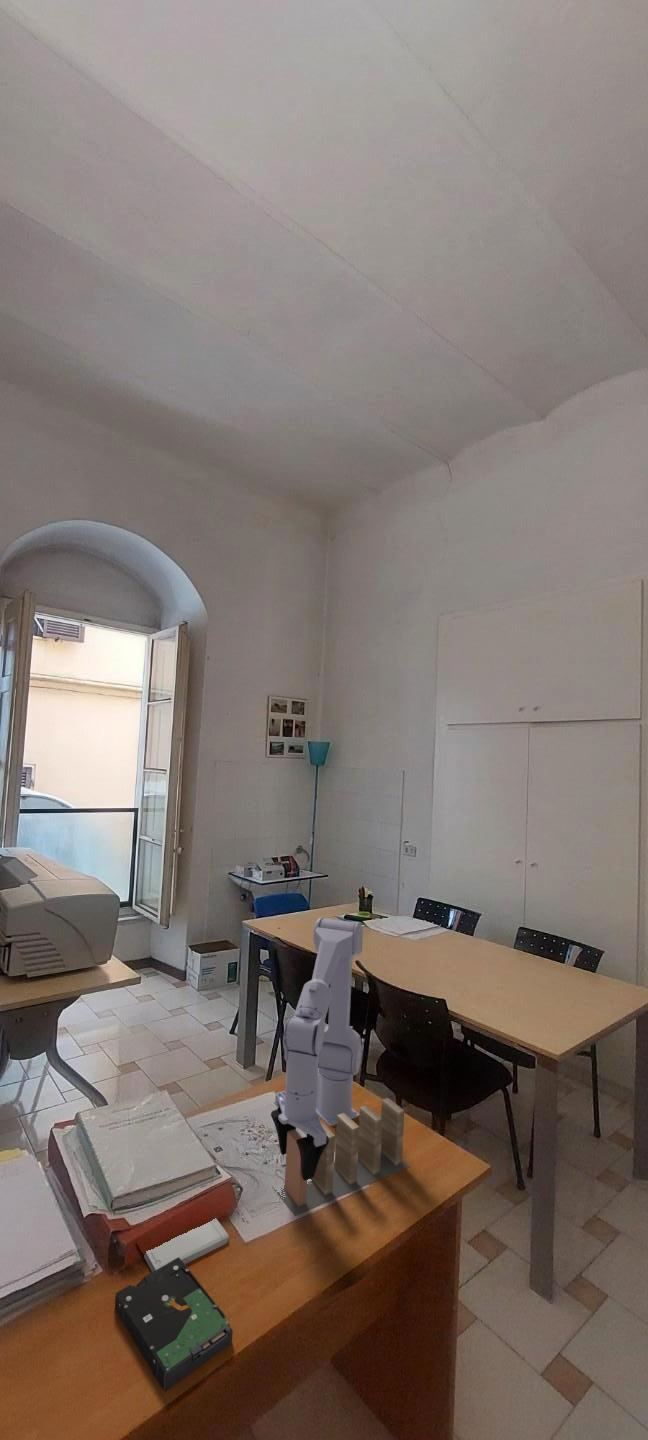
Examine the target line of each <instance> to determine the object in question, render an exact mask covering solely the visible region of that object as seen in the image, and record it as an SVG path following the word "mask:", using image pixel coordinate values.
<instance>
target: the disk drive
mask: <svg viewBox="0 0 648 1440" xmlns="http://www.w3.org/2000/svg"><path fill="white" fill-rule="evenodd" d="M114 1312H115V1313H116V1314H117V1317H118V1318H119V1320H120V1322H121V1323H122V1324H123V1326H124V1327H125V1329H126V1331H127V1332H128V1334H129V1336H130V1337H131V1339H132V1341H133V1342H134V1343H135V1346H136V1347H137V1349H138V1350H139V1352H140V1354H141V1355H142V1358H144V1360H145V1362H146V1364H147V1365H148V1367H149V1369H150V1371H151V1373H152V1375H153V1376H154V1378H155V1379H156V1380H157V1382H158V1384H159V1386H160V1387H161V1389H162V1391H163V1392H167V1391H168V1390H169V1389H171V1388H172V1387H173V1386H175V1385H176V1384H177V1383H180V1381H182V1380H183V1379H185V1378H186V1377H187V1376H188V1375H190V1374H191V1373H193V1372H194V1371H196V1370H197V1369H198V1368H199V1367H201V1366H202V1365H204V1364H205V1363H207V1362H208V1361H209V1360H211V1359H212V1358H213V1357H215V1356H216V1355H218V1354H219V1353H220V1352H222V1351H223V1350H225V1349H226V1348H228V1347H229V1346H231V1344H232V1343H233V1335H234V1334H233V1332H234V1331H233V1329H232V1327H231V1326H230V1321H229V1320H228V1319H227V1318H226V1315H225V1313H224V1312H223V1310H222V1309H220V1308H219V1306H218V1305H217V1304H216V1302H215V1301H214V1300H213V1299H212V1297H211V1296H210V1295H209V1293H208V1292H207V1291H206V1289H205V1288H204V1287H203V1286H202V1285H201V1283H200V1282H199V1281H198V1279H197V1278H196V1276H195V1275H194V1274H193V1273H192V1271H191V1270H190V1269H189V1268H188V1266H187V1264H184V1263H183V1261H182V1260H181V1259H180V1258H179V1257H178V1258H176V1259H174V1260H173V1261H171V1262H169V1263H168V1264H166V1265H164V1266H163V1267H161V1268H159V1269H157V1270H155V1271H153V1272H152V1271H151V1273H148V1274H146V1275H145V1276H144V1277H143V1278H142V1279H141V1280H140V1281H139V1282H138V1283H137V1284H136V1286H135V1285H131V1284H129V1285H127V1286H125V1287H124V1288H122V1289H120V1290H118V1291H117V1292H116V1293H115V1299H114Z"/></svg>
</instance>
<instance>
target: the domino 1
mask: <svg viewBox="0 0 648 1440" xmlns="http://www.w3.org/2000/svg"><path fill="white" fill-rule="evenodd" d="M300 1138H303V1136H302V1135H301V1134H300V1133H299V1132H298V1131H297V1129H296V1130H292V1131H289V1132H287V1148H286V1154H285V1165H284V1166H285V1167H284V1169H285V1170H284V1182H285V1185H284V1189H285V1190H286V1192H287V1193H288V1194H289V1195H290V1197H291V1198H292V1199H293V1200H294V1202H295V1203H296V1204H297V1206H298V1207H299V1206H301V1205H304V1204H306V1197H307V1180H303V1178H302V1173H301V1156H300V1151H299V1148H298V1145H297V1143H296V1140H298V1139H300Z"/></svg>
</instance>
